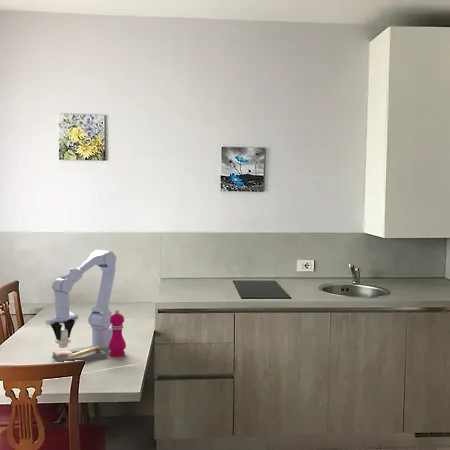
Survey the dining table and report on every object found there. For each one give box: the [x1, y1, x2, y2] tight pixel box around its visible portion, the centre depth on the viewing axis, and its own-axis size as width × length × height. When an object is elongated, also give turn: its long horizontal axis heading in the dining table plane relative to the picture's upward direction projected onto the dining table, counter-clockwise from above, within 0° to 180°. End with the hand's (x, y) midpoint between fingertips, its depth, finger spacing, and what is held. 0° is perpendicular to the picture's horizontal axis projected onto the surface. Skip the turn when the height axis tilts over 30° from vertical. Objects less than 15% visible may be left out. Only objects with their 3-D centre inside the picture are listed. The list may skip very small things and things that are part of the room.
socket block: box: [52, 346, 108, 363], centre depth 241 cm, size 19×14×3 cm
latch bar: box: [68, 345, 102, 359], centre depth 236 cm, size 17×2×1 cm, turn 148°
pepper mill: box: [108, 309, 127, 358], centre depth 244 cm, size 7×7×20 cm
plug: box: [54, 327, 72, 349], centre depth 241 cm, size 6×6×7 cm
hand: (62, 338), depth 241 cm, fingers closed on plug, 4 cm apart
